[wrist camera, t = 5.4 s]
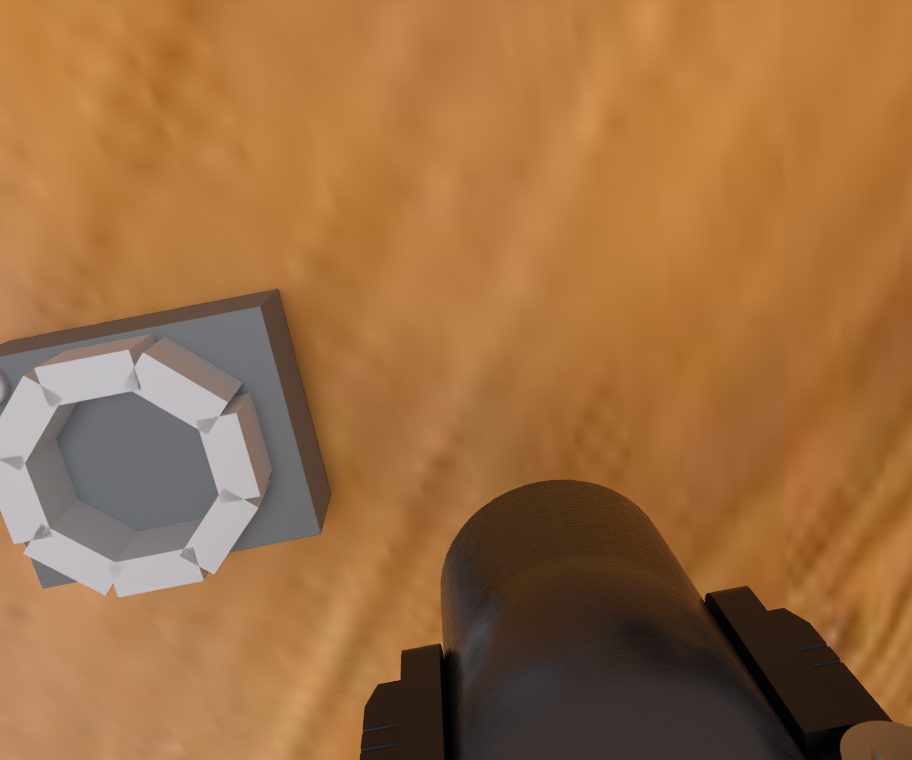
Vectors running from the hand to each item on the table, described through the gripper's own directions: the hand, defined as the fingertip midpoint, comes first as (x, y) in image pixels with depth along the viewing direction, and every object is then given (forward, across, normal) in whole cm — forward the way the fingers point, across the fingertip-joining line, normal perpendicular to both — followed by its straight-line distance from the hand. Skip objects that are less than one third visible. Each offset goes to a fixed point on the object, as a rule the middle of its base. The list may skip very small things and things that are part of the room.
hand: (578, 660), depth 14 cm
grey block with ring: (+21, +14, 0) cm, 25 cm away
